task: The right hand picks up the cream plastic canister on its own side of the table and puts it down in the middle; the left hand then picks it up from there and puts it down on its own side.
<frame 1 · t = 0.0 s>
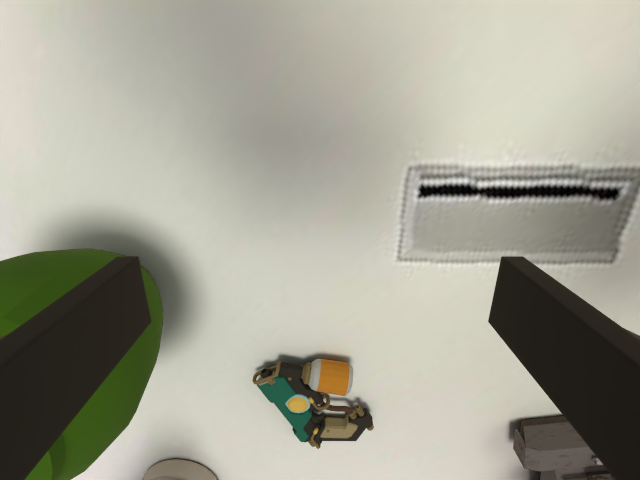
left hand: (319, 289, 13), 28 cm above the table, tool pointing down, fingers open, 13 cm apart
vase: (124, 285, 44), on the table
spray gun: (315, 394, 50), on the table
toy: (584, 456, 55), on the table
bust sculpture: (176, 468, 56), on the table
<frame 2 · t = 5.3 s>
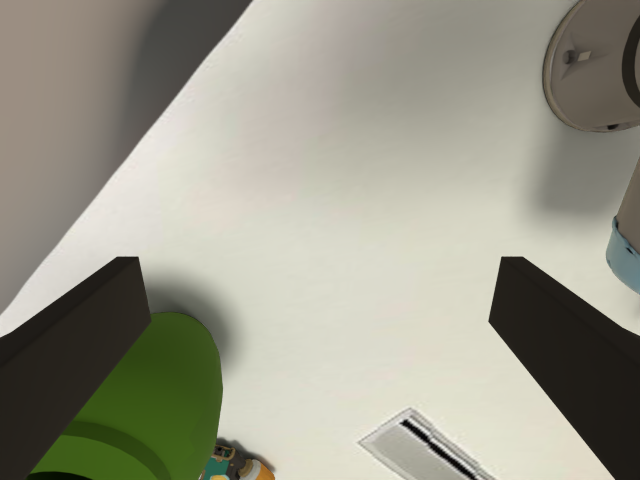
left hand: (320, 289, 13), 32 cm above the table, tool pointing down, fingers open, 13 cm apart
vase: (181, 335, 51), on the table
spray gun: (231, 474, 62), on the table
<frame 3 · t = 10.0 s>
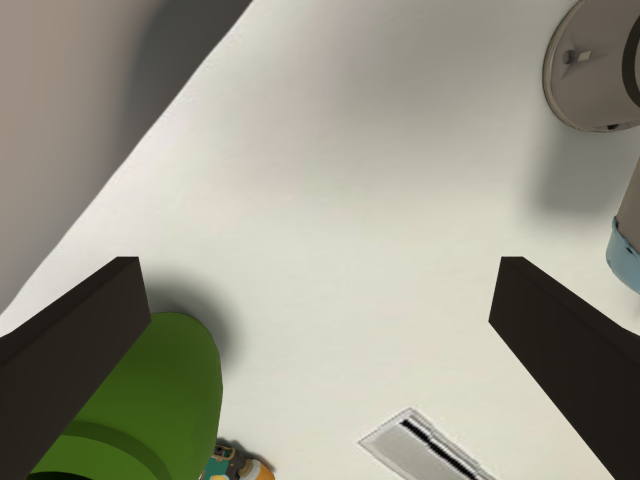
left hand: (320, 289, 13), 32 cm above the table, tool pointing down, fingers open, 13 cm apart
vase: (181, 335, 51), on the table
spray gun: (231, 474, 62), on the table
when the right hand's fingers open (7 cm above the table, at t = 14.8 s): canister drops 1 cm, on the table.
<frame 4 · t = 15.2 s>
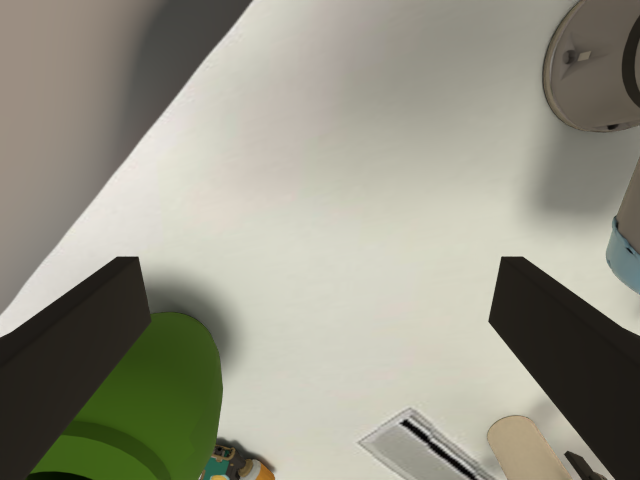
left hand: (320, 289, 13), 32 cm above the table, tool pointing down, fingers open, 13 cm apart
canister: (511, 433, 58), on the table
vase: (181, 335, 51), on the table
spray gun: (231, 474, 62), on the table
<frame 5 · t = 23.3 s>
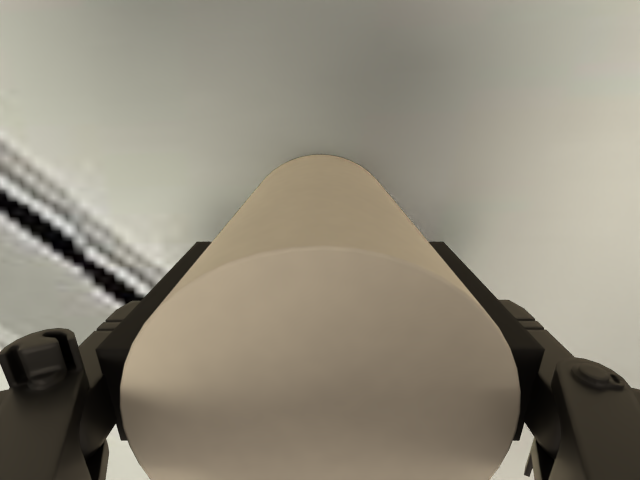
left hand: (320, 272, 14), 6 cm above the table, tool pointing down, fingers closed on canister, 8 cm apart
canister: (320, 228, 19), on the table, touching left hand
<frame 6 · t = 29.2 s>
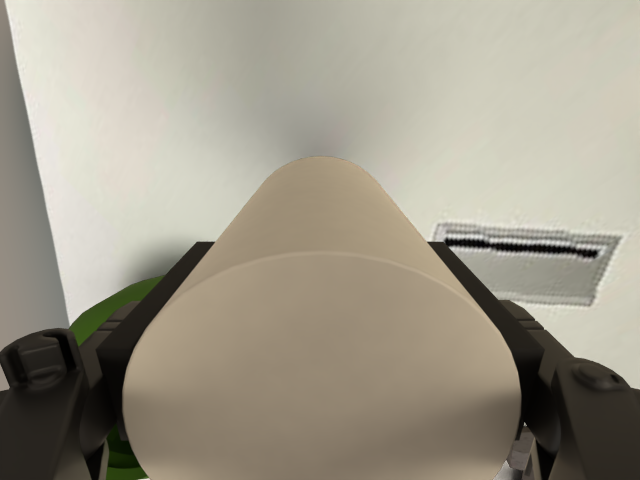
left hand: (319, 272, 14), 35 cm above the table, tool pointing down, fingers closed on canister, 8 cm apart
canister: (320, 230, 19), point 29 cm above the table, touching left hand
vase: (197, 300, 54), on the table
toy: (558, 460, 66), on the table
when the left hand's fingers open (7 cm above the table, at t = 35.2 s): canister drops 1 cm, on the table.
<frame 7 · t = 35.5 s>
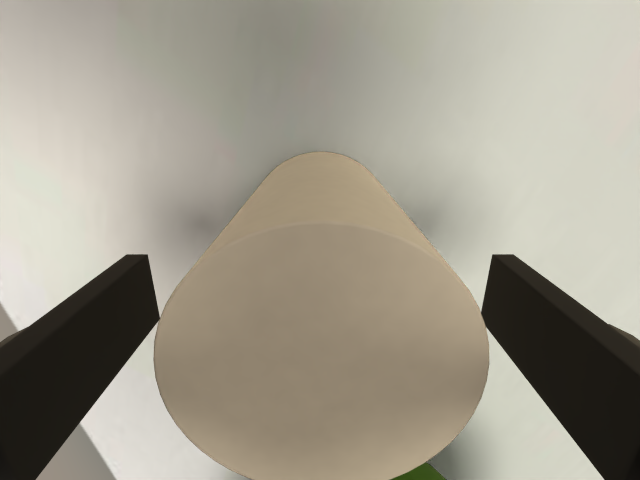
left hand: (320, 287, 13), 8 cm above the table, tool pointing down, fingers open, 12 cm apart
canister: (320, 221, 21), on the table
vase: (369, 472, 28), on the table
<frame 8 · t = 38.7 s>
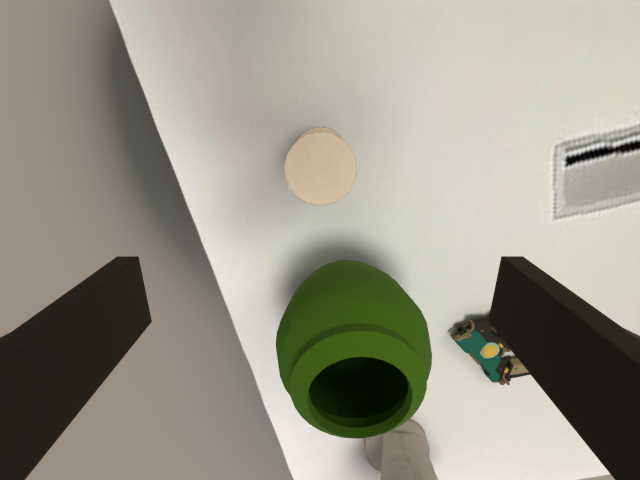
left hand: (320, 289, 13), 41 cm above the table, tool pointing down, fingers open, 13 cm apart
canister: (320, 156, 51), on the table
vase: (344, 286, 58), on the table
spray gun: (497, 341, 62), on the table
bust sculpture: (389, 426, 70), on the table
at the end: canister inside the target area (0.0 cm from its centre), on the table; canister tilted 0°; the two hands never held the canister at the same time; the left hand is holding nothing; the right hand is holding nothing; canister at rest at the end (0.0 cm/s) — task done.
